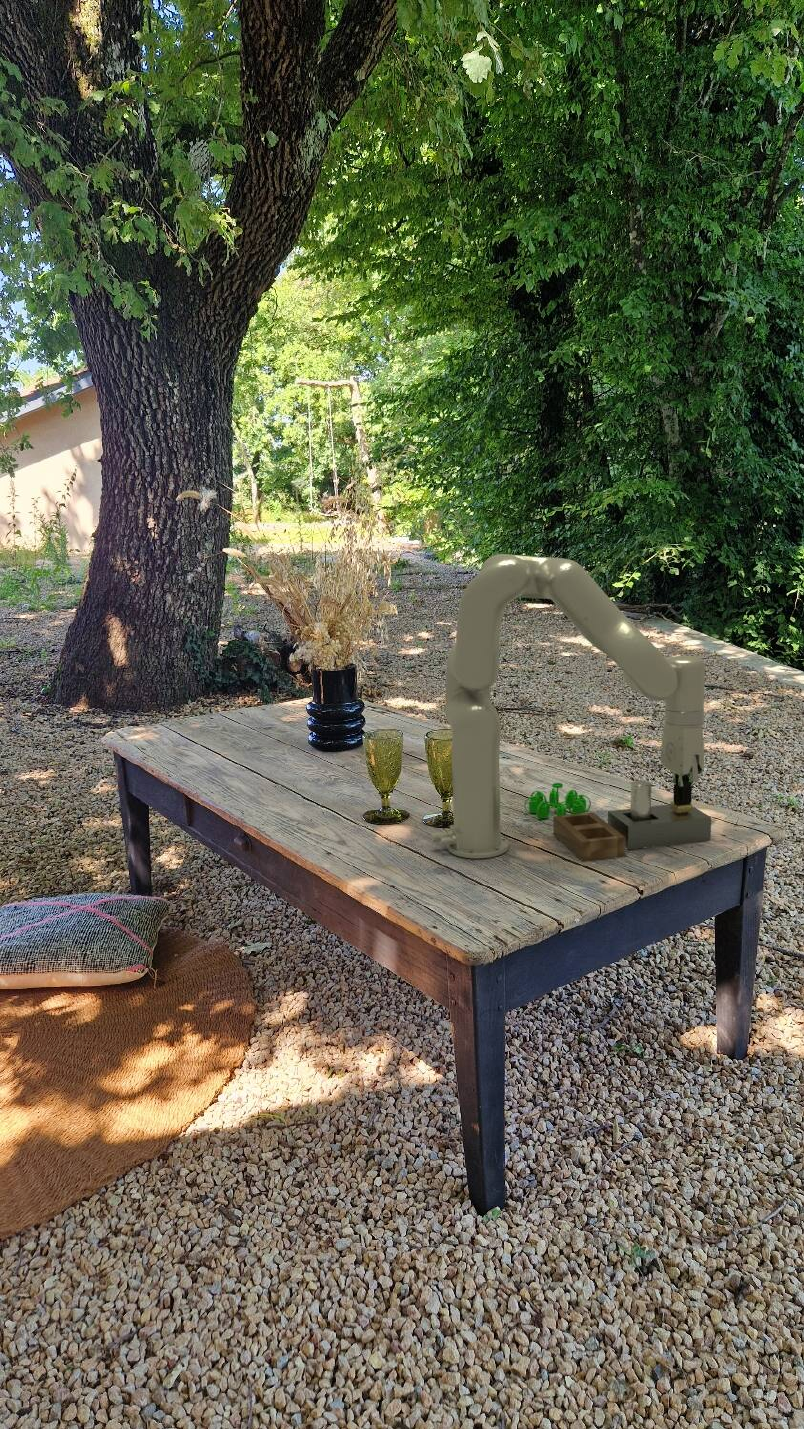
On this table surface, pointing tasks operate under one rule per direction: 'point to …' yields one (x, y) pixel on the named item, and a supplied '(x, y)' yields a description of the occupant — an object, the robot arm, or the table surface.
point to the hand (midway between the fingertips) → (682, 803)
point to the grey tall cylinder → (640, 801)
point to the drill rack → (589, 836)
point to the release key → (681, 808)
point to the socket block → (661, 827)
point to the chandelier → (556, 803)
